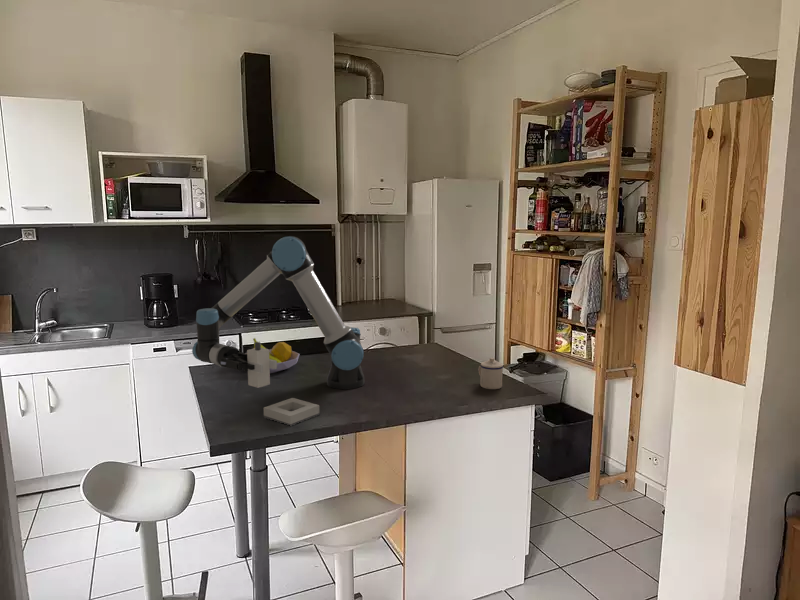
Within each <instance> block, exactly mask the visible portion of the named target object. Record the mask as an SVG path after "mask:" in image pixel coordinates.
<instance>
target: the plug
mask: <svg viewBox="0 0 800 600" xmlns="http://www.w3.org/2000/svg"><path fill="white" fill-rule="evenodd" d="M261 345H262V343H261V342H260V341H257V342H255V348H254V347H253V348H254V349H253V348H251V349H247V350H246V353H247V362H249V361H251V362H255V363H259V364H263V373H259V372H256V371H252V370H249V369H248V372H247V382H248V384H247V385H248V386H250V387H254V388H259V389H260V388H262V387H266V386H268V385H269V386H270V385H271V376H270V374H271V373H270V368H269V349H268V348H266V347H265V348H266V349H265V348H261Z"/></svg>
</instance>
